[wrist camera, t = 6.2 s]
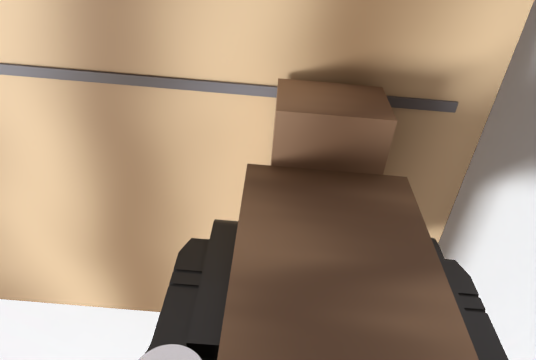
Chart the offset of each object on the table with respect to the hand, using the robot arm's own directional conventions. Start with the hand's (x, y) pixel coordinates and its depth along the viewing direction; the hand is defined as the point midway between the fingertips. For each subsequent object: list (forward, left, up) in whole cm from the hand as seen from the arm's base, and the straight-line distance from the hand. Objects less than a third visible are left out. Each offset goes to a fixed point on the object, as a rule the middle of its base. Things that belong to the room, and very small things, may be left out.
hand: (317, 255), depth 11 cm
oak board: (+5, 0, -6) cm, 8 cm away
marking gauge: (0, +3, -5) cm, 6 cm away
